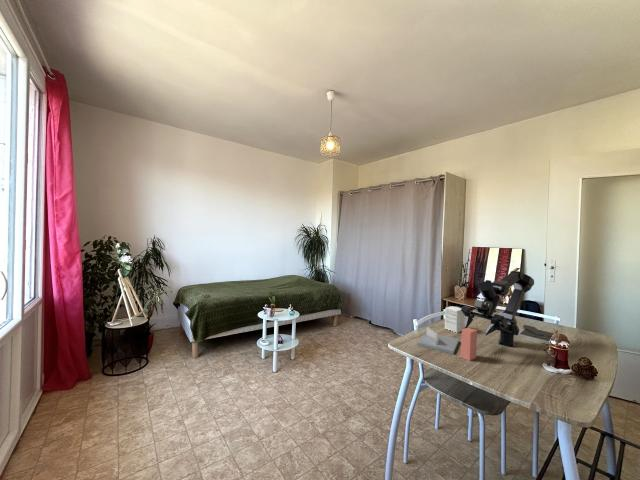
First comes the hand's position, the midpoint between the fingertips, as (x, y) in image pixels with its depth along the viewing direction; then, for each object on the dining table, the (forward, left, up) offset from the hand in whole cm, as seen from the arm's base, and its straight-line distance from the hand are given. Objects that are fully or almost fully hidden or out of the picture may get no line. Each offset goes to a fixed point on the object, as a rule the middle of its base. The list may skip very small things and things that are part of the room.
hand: (475, 331), depth 121 cm
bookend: (-2, -18, -10) cm, 21 cm away
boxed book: (+4, -2, -11) cm, 12 cm away
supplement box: (-31, -13, -11) cm, 35 cm away
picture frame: (-50, +26, -12) cm, 57 cm away
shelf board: (-4, -16, -11) cm, 20 cm away
